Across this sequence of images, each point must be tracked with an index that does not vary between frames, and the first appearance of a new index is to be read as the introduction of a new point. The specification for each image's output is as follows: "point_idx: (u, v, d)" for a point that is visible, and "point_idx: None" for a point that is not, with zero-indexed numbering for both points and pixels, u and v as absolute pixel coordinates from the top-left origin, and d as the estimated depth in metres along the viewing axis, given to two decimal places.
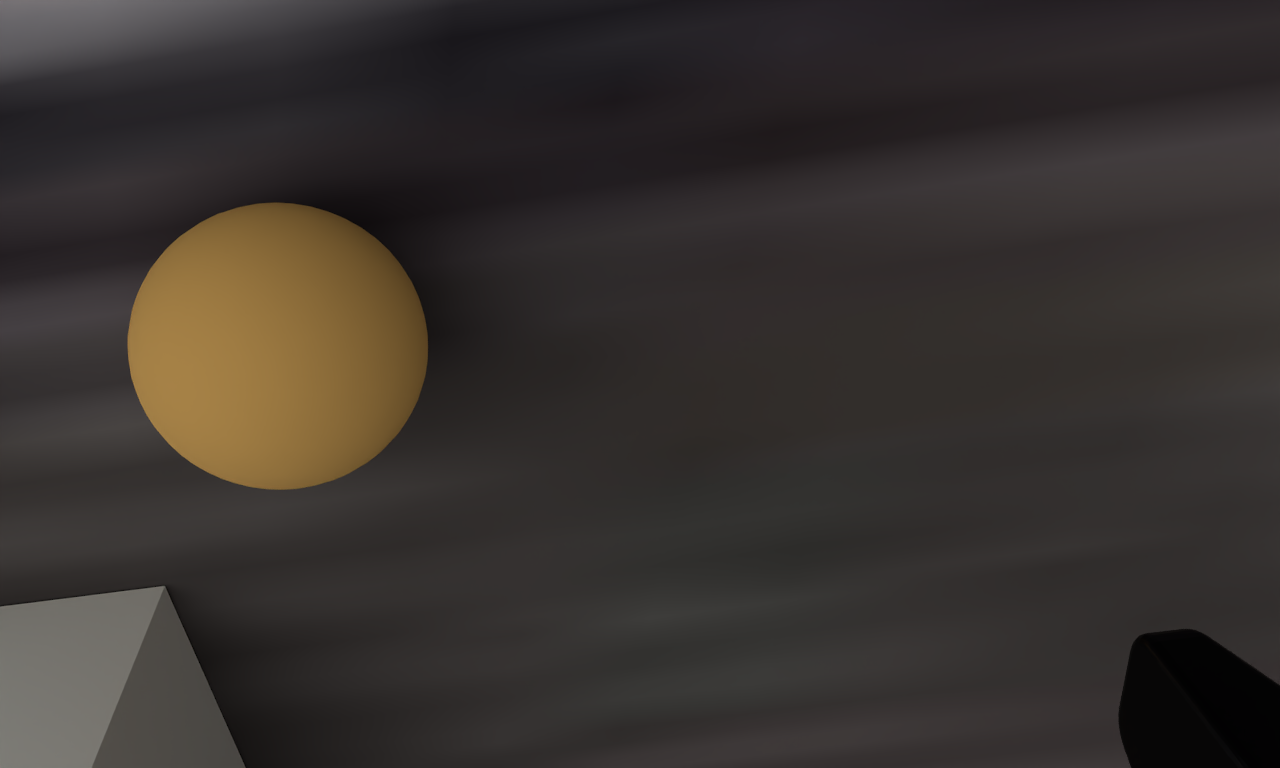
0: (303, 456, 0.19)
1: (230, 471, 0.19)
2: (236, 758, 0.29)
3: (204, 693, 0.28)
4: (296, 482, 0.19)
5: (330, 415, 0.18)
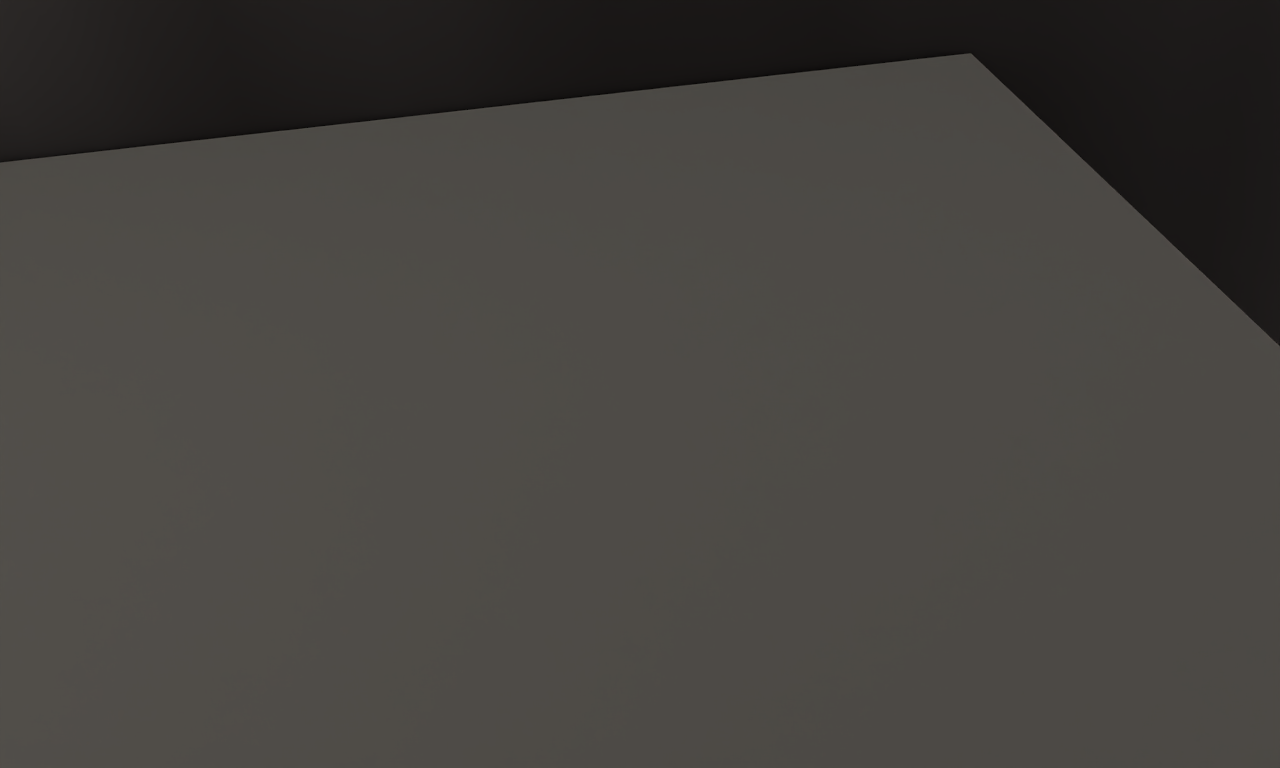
0: None
1: None
2: (704, 93, 0.08)
3: (347, 139, 0.08)
4: None
5: None
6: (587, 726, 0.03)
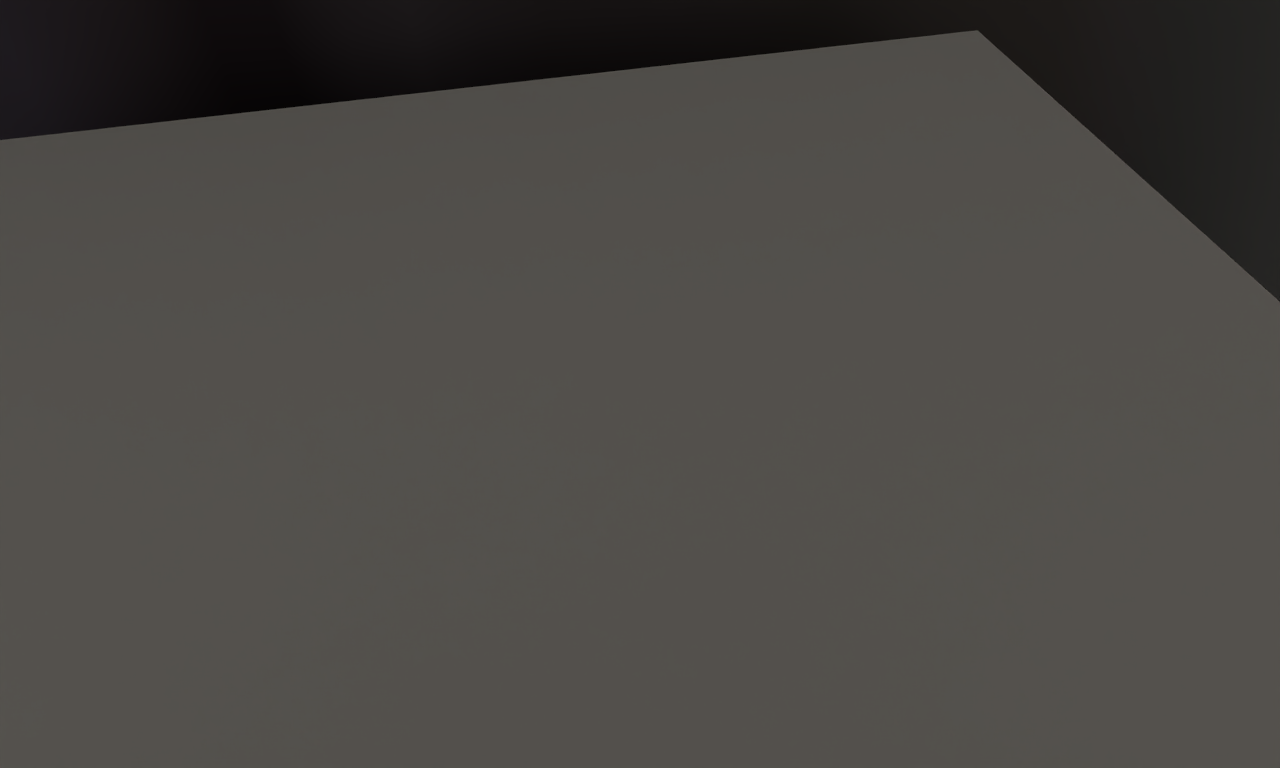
0: None
1: None
2: (705, 71, 0.08)
3: (338, 117, 0.08)
4: None
5: None
6: (584, 718, 0.03)
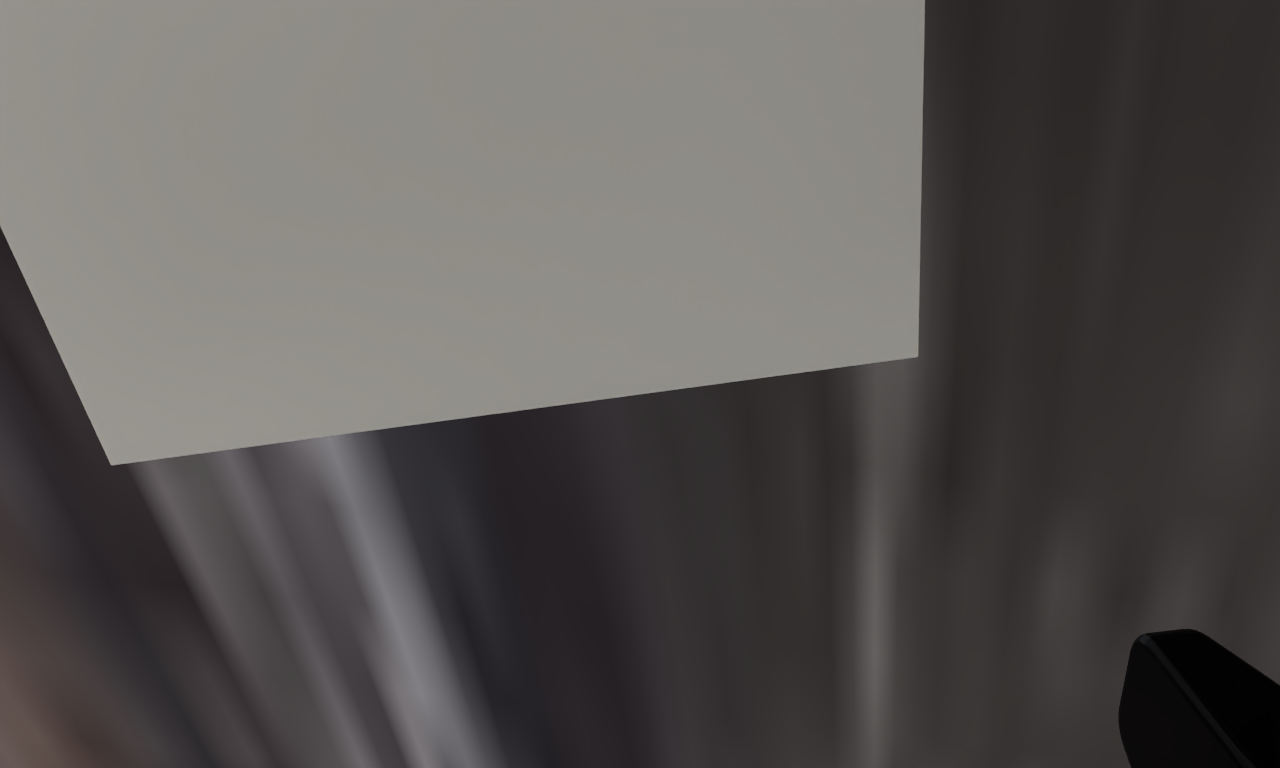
0: None
1: None
2: None
3: None
4: None
5: None
6: None
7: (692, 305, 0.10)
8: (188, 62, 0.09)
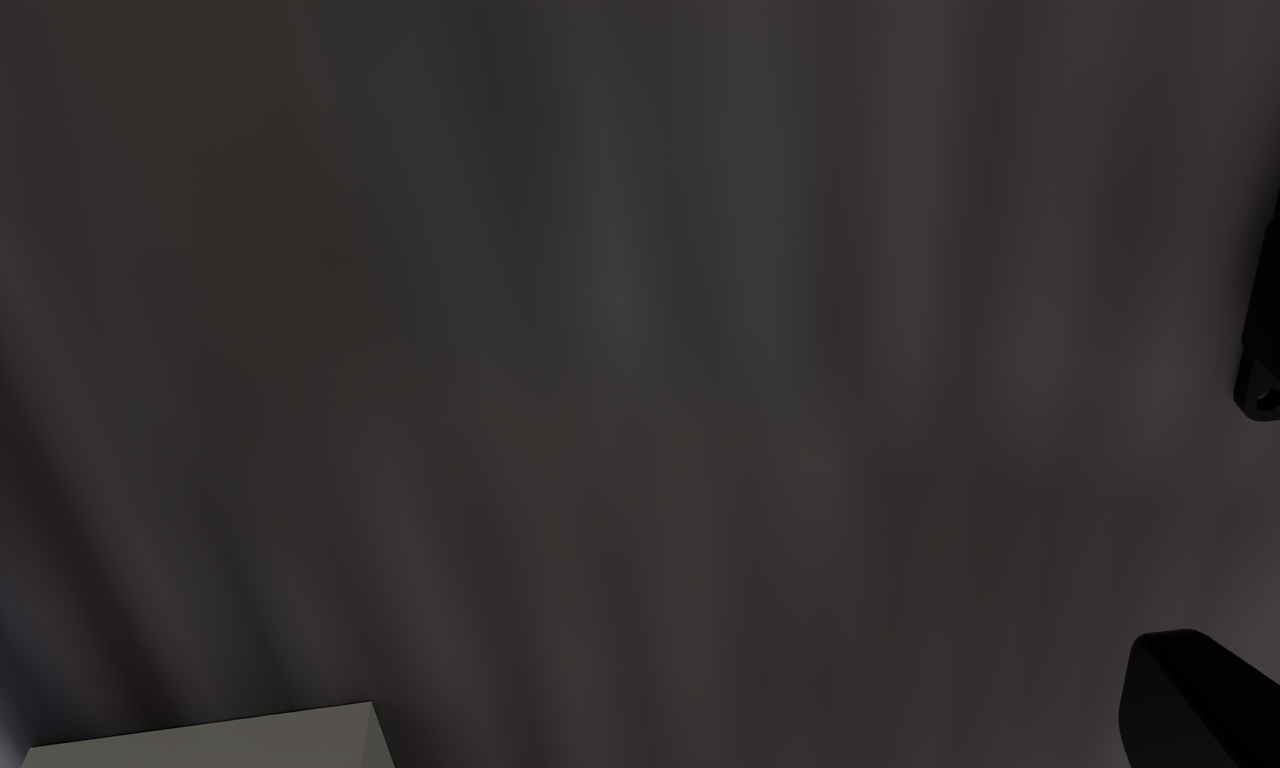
0: None
1: None
2: (281, 721, 0.25)
3: (167, 740, 0.25)
4: None
5: None
6: None
7: None
8: None
